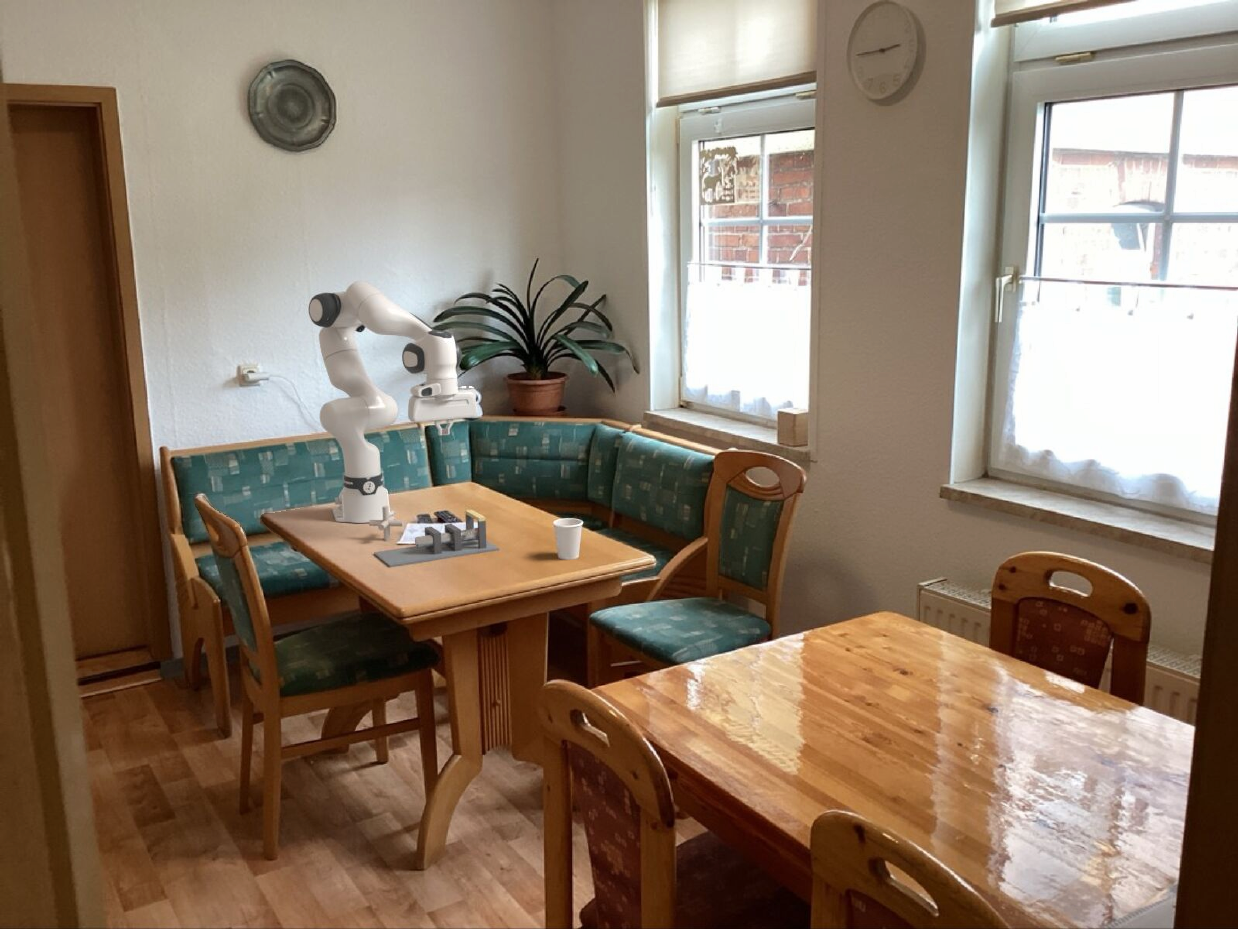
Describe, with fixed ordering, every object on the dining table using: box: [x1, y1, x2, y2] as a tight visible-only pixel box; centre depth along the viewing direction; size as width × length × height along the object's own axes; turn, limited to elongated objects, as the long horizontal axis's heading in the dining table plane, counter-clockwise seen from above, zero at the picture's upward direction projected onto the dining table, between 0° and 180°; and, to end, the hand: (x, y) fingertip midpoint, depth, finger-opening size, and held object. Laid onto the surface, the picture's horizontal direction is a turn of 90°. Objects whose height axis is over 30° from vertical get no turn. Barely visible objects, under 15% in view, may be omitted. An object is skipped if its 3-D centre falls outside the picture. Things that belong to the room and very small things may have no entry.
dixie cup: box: [552, 517, 584, 561], centre depth 297 cm, size 8×8×10 cm
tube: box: [414, 527, 478, 548], centre depth 304 cm, size 4×20×4 cm, turn 120°
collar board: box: [373, 509, 500, 568], centre depth 302 cm, size 14×32×10 cm, turn 120°
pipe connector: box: [368, 505, 405, 541], centre depth 315 cm, size 10×10×10 cm
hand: (444, 434), depth 310 cm, fingers closed
